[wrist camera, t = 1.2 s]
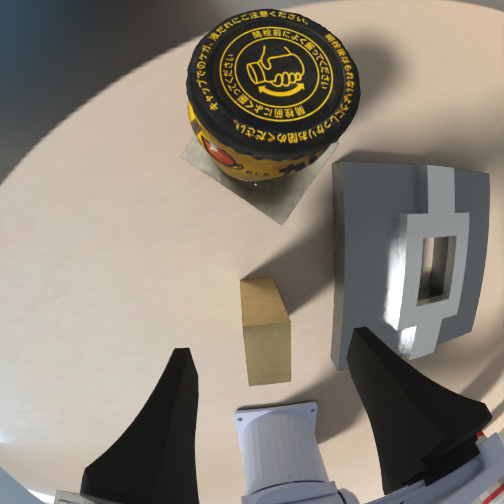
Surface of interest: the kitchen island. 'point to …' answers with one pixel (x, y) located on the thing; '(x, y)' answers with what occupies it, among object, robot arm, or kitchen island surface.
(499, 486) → the spray bottle
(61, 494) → the grater
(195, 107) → the condiment
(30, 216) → the kitchen island surface
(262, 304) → the wooden rectangular block
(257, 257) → the kitchen island surface
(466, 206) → the grey square plate
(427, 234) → the bracket
